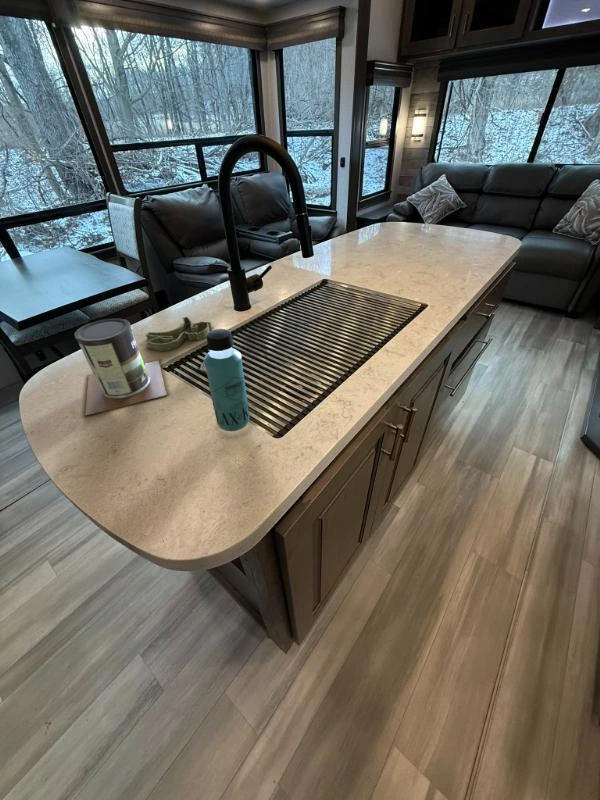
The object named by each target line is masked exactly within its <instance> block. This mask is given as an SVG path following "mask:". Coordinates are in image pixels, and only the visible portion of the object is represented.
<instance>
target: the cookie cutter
mask: <svg viewBox="0 0 600 800" xmlns="http://www.w3.org/2000/svg"><path fill="white" fill-rule="evenodd" d="M187 324H188V325H189V326H190V327H189V328H190V331H191V332H187V331H186V329H187ZM201 329H203V330H201ZM211 329H212V323H211V321H199V322H193V323H192V320H191V319H190V317H188V316H185V317H182V324H181V325H180V326H178V327H177V328H174V329H172V330H171V329H170V330H167V331H160V332H159V331H155V332H154V331H149V332H147V333H145V337H146V339H147V344H148V347H149V349H151V350H153V351H156V352H157V351H158V352H166V351H171V350H174V349H176V348H178V347H180V345H181V344H182V343H183V342H184V341H185V340H189V341H194V340H196V341H201V340H202V339H203V340H204V339H205V338H207V334H208V333H209V332H210V330H211ZM199 330H201V331H199ZM175 337H177V338H176V339H174V338H175Z"/></svg>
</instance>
